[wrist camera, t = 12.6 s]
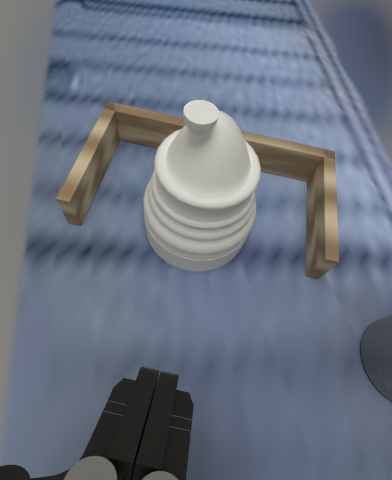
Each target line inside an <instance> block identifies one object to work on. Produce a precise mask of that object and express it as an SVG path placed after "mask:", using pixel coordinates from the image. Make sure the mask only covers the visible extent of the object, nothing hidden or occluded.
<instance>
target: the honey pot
mask: <svg viewBox="0 0 392 480" xmlns="http://www.w3.org/2000/svg"><path fill="white" fill-rule="evenodd" d="M183 114H184V121H185V124H186V125H185V126H184V127H183V128H182V129H180V130H178V131H175V132H173V133H172V134H171V135H169V136H168V137H167V138H165V139H164V141H163V142H162V143H161V145H160V146H159V147H158V149H157V153H156V156H155V159H154V162H155V169H154V173H153V175H152V178H151V180H150V181H149V183H148V184H147V188H146V191H145V194H144V198H143V204H144V219H145V229H146V234H147V237H148V240H149V243H150V245H151V247H152V248H153V249H154V251H155V252H156V254H157V255H158V256H160V257H161V258H162V259H163V260H164V261H166V262H167V263H168V264H171V265H173V266H175V267H177V268H179V269H183V270H188V271H193V272H199V271H210V270H213V269H216V268H219V267H222V266H224V265H225V264H227V263H228V262H230V261H231V260H232V259H233V258H234V257H235V256H236V255H237V254H238V252H239V251H240V250H241V248H242V246H243V244H244V242H245V240H246V238H247V236H248V234H249V232H250V230H251V228H252V226H253V223H254V221H255V215H256V201H255V190H256V188H257V186H258V183H259V181H260V174H261V167H260V163H259V159H258V156H257V155H256V153H255V151H254V150H253V148H252V147H251V146H250V145H249V144H248V143H247V142H246V141H245V139H244V137H243V135H242V132H241V131H240V129H239V127H238V126H237V124H236V122H235V121H234V120H233V119H232V118H231V117H230V116H229V115H227V114H226V113H224V112H222V111H218V109H217V107H216V106H215V105H213V104H212V103H210V102H208V101H204V100H194V101H191V102H189V103H187V104H186V105H185V107H184V112H183Z"/></svg>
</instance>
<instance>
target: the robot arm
mask: <svg viewBox="0 0 392 480" xmlns="http://www.w3.org/2000/svg"><path fill="white" fill-rule="evenodd" d="M361 356H362V361H363V365H364V368H365V370H366V372H367V374H368V376H369V378H370V380H371V381H372V383H373V384H374V386H375V387H376V388H377V389H378V390H379V391H380V392H381V393H382V394H383V396H385V397H386V398H387V399H389V400H390V401H391V402H392V316H389V317H386V318H383V319H381V320H378V321H376V322H374V323H372V324H371V325H370V326H369V327H368V328H367V330H366V331H365V333H364V335H363V338H362V341H361ZM158 376H159V371H158V370H154V369H149V368H145V367H141V368H140V371H139V373H138V376H137V379H136V381H135V380H130V379H126V378H123V379H122V380H121V381H120V382H119V383H118V384H117V385H116V386H115V387H114V388H113V390H112V392H111V395H110V397H109V399H108V402H107V403H106V406H105V408H104V410H103V412H102V414H101V417H100V419H99V421H98V423H97V425H96V428H95V430H94V432H93V434H92V437H91V439H90V441H89V443H88V445H87V448H86V450H85V452H84V454H83V456H82V457H81V459H80V460H79V461H78V462H77V463H76V464H74V465H73V466H72V467H71V468H70V469H69V470H67V471H65V472H63V473H61V474H58V475H54V476H48V477H40V478H33V479H30V476H29V474H28V472H27V471H26V470H25V469H24V468H22V467H21V466H17V465H5V466H1V467H0V480H186V471H187V462H188V452H189V443H190V432H191V424H192V415H193V403H192V400H191V397H190V394H189V393H188V392H183V391H179V390H176V388H177V382H178V377H179V375H176V374H172V373H167V372H163V371H161V372H160V376H159V379H158ZM157 380H158V383H157ZM156 385H157V387H156Z"/></svg>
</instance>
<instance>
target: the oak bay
mask: <svg viewBox="0 0 392 480" xmlns="http://www.w3.org/2000/svg"><path fill="white" fill-rule="evenodd" d="M185 125H186V124H185V121H184V118H181V117H176V116H172V115H167V114H163V113H158V112H153V111H149V110H144V109H140V108H135V107H131V106H126V105H122V104H117V103H113V102H107V104H106V106H105V108H104V109H103V111H102V113H101V115H100V117H99V119H98V121H97V123H96V125H95V126H94V128H93V130H92V132H91V134H90V136H89V138H88V140H87V142H86V143H85V145H84V147H83V149H82V151H81V153H80V155H79V157H78V158H77V160H76V162H75V164H74V166H73V168H72V170H71V172H70V174H69V175H68V177H67V179H66V181H65V183H64V185H63V187H62V189H61V190H60V192H59V194H58V196H57V198H56V200H57V202H58V204H59V206H60V207H61V209H62V211H63V213H64V215H65V217H66V219H67V221H68V222H69V223H70V224H75V225H79V226H81V225H82V222H83V220H84V218H85V216H86V214H87V211H88V209H89V207H90V205H91V203H92V200H93V198H94V196H95V194H96V192H97V189H98V187H99V185H100V183H101V181H102V178H103V176H104V174H105V172H106V170H107V167H108V165H109V163H110V161H111V159H112V156H113V154H114V152H115V150H116V148H117V145H118V143H119V141H120V140H121V141H126V142H130V143H135V144H139V145H144V146H148V147H153V148H157V149H158V147H159V146H160V145H161V143H162V142H163V141H164V139H165V138H167V137H168V136H169V135H171V134H172V133H173V132H175V131H178V130H180V129H182V128H183V127H184V126H185ZM241 132H242V135H243V137H244V139H245V141H246V142H247V143H248V144H249V145H250V146H251V147H252V148H253V150H254V151H255V153H256V155H257V156H258V159H259V163H260V167H261V172H266V173H270V174H275V175H280V176H284V177H289V178H293V179H298V180H302V181H307V235H306V276H308V277H312V278H317V279H318V278H319V277H321V276H322V275H323V274H325V273H326V272H327V271H328V270H330V269H331V268H332V267H334V266H335V265H336V264H338V263H339V241H338V217H337V193H336V168H335V151H331V150H326V149H321V148H317V147H312V146H308V145H303V144H299V143H294V142H290V141H285V140H281V139H276V138H271V137H267V136H262V135H258V134H253V133H249V132H244V131H241Z"/></svg>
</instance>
